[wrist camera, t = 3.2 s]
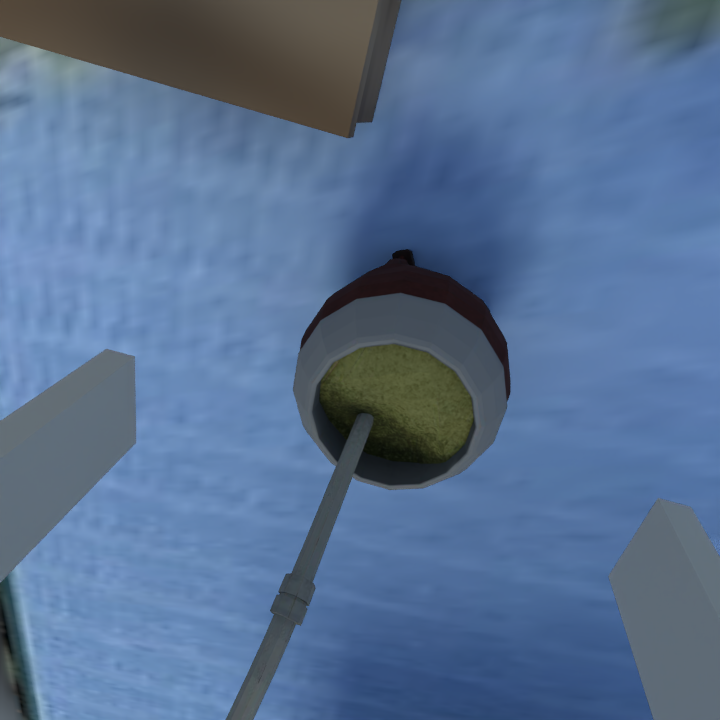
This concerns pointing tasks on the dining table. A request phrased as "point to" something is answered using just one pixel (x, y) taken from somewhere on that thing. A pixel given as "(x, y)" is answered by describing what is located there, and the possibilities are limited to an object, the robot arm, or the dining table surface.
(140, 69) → the walnut box
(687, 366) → the dining table surface
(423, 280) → the mate gourd
